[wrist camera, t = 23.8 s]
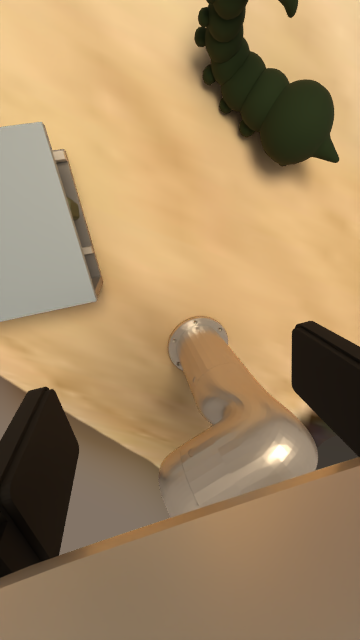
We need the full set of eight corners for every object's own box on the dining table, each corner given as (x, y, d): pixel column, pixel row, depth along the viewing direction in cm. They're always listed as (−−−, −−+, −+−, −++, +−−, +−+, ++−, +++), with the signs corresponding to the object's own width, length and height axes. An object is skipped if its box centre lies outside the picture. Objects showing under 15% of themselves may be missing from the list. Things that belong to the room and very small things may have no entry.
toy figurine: (174, 85, 39) (286, 197, 46) (198, -43, 21) (376, 174, 28) (213, 22, 37) (323, 149, 44) (276, -174, 19) (444, 92, 26)
